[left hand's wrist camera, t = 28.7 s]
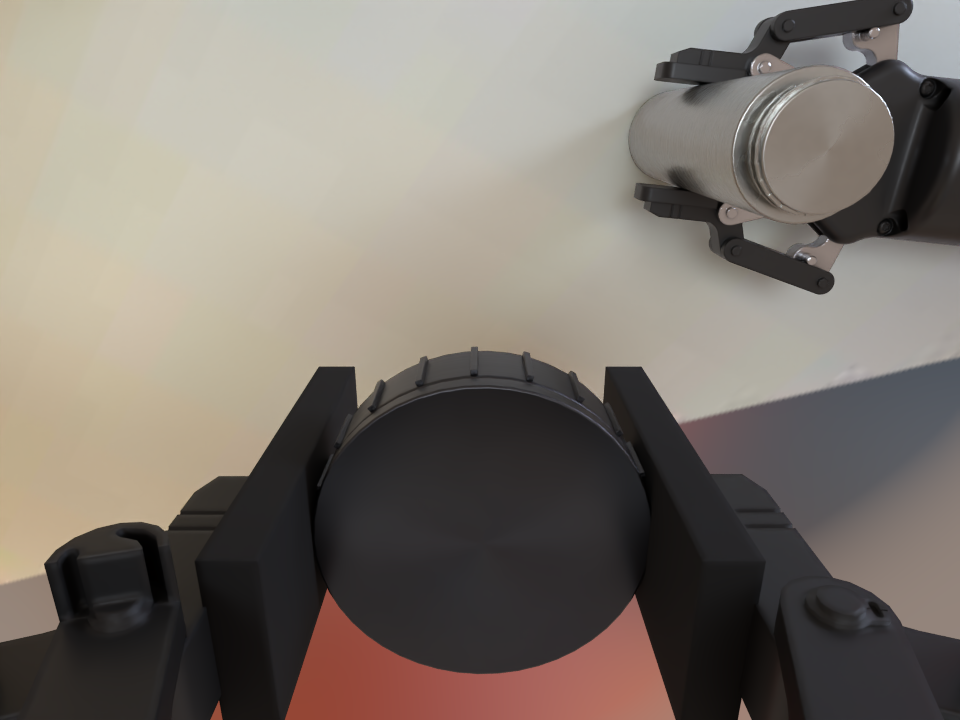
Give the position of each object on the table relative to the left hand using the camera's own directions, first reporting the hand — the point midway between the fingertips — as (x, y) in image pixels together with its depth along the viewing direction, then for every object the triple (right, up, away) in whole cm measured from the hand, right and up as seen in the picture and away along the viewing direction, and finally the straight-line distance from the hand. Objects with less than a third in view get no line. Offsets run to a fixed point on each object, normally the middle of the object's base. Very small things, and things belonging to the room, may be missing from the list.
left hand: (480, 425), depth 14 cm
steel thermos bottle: (+11, +14, +24) cm, 30 cm away
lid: (0, -1, -4) cm, 4 cm away
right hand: (+8, +12, +18) cm, 23 cm away
